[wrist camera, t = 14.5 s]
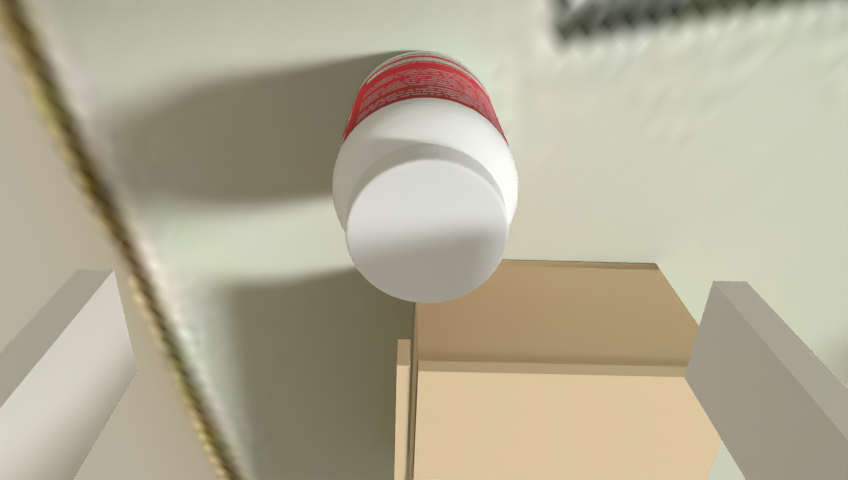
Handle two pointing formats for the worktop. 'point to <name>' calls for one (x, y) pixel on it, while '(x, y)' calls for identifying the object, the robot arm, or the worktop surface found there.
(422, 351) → the carton
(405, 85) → the pill bottle
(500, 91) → the worktop surface
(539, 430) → the lid
